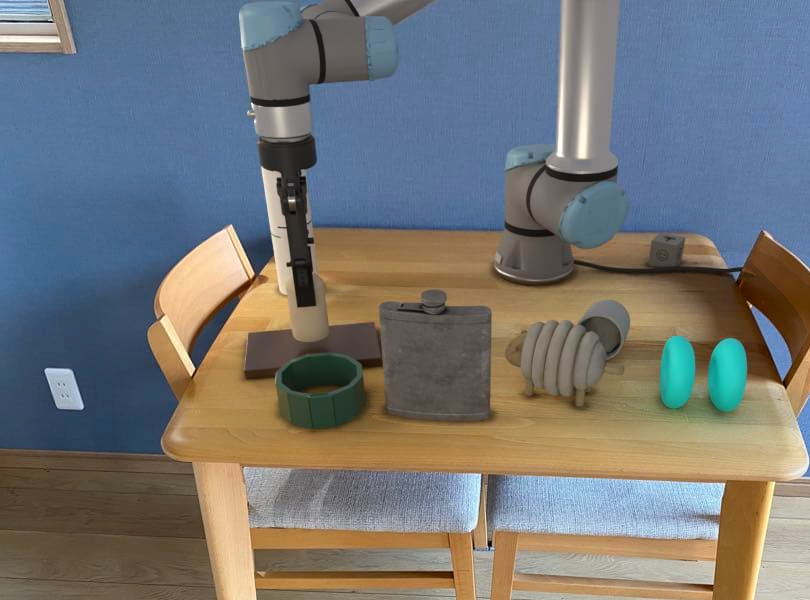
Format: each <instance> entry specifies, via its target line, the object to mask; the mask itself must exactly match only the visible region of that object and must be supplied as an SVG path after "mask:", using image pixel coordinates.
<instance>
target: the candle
mask: <svg viewBox="0 0 810 600" xmlns="http://www.w3.org/2000/svg"><path fill="white" fill-rule="evenodd" d="M312 274H313V282H314V290H315V298H316V306H312V307H300V308H297V301H296V294H295V287H294V280H293V275H292V276H291V277H290V278H289V279H288V280H287V282H286V284H285V285H286V292H287V295H286V297H287V304H288V305H287V306H288V311H289V312H288V313H289V319H290V326H291V329H292V332H293V336H294V338H295V339H296V340H298V341H302V342H315V341H319V340H322V339H324V338H326V337H327V336H328V334H329V326H330V325H329V316H328V308H327V307H328V306H327V300H326V290H325V289H326V288H325V282H324V281H325V280H324V279H323V278H322V277H321V276H320V275H319V274H318V275H317V274H315V273H314V272H313V271H312Z"/></svg>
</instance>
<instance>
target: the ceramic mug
mask: <svg viewBox="0 0 810 600" xmlns="http://www.w3.org/2000/svg"><path fill="white" fill-rule="evenodd" d="M573 325H574V326H575V325H582V326H584V327H585V329H586V331H587V332H590V331H592V332H595V333H596V334H597V335H598V336H599V341H600V343H601V344H602V345H603V347H604V349H605V352H606V357H607V361H608V360H611V359H613V358H614V357H616V356H617V355H618V354H619V353H620V352H621V350H622V348H623V346H624V343H625V341H626V339H627V336H628V334H629V331H630V329H631V317H630V314H629V312H628V310H627V308H626V307H625V306H624V305H623V304H622V303H621V302H618V301H616V300H613V299H602V300H601V299H600V300H598V301H596V302H594V303H593V304H592V305H591V306H590V307H588V309H587V310H586V311H585V313H584V314H583V315H582V317H581V318H580V319H579V321H578V322H577V323H576V324H573Z"/></svg>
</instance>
